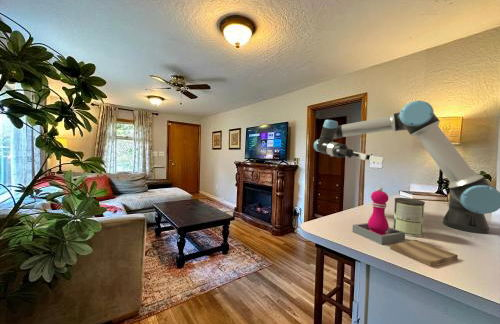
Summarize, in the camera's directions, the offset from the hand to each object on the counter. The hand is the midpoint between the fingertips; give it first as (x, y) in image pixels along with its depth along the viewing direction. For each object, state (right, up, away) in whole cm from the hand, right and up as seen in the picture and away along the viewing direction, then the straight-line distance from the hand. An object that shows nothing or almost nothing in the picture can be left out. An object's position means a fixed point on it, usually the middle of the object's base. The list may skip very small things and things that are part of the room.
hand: (374, 159), depth 94 cm
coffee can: (+11, -32, -5) cm, 34 cm away
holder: (-5, -31, -11) cm, 34 cm away
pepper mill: (-5, -32, -11) cm, 34 cm away
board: (0, -32, -25) cm, 41 cm away
